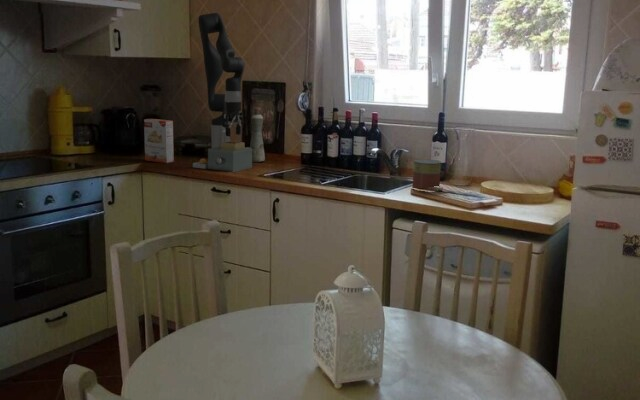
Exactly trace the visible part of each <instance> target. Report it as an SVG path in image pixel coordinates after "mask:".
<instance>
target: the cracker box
mask: <svg viewBox="0 0 640 400" xmlns="http://www.w3.org/2000/svg"><path fill="white" fill-rule="evenodd" d="M143 130H144V131H143V132H144V160H145V161H147V162H156V163H163V164H169V163H173V162H174V161H175V156H174V155H175V154H174V121H173V120H169V119H168V120H167V119H159V118H145V119H143Z"/></svg>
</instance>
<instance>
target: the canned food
mask: <svg viewBox="0 0 640 400" xmlns="http://www.w3.org/2000/svg"><path fill="white" fill-rule="evenodd" d="M441 170H442V161H440V160H436V159H435V160H434V159H425V158H424V159H414V160H413V172H412V188H428V187H434V186H439V187H440V185H441V183H440V182H441ZM412 188H411V189H412Z"/></svg>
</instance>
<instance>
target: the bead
mask: <svg viewBox="0 0 640 400" xmlns="http://www.w3.org/2000/svg"><path fill="white" fill-rule="evenodd" d="M198 162H199V164H208V159H206V158H201V159H200V160H199V161H198Z"/></svg>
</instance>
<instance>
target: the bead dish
mask: <svg viewBox="0 0 640 400" xmlns="http://www.w3.org/2000/svg"><path fill="white" fill-rule="evenodd" d="M192 168H194V169H197V168H198V169H203V170H206V169H208V164H199V161H198V162H193V163H192Z"/></svg>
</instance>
